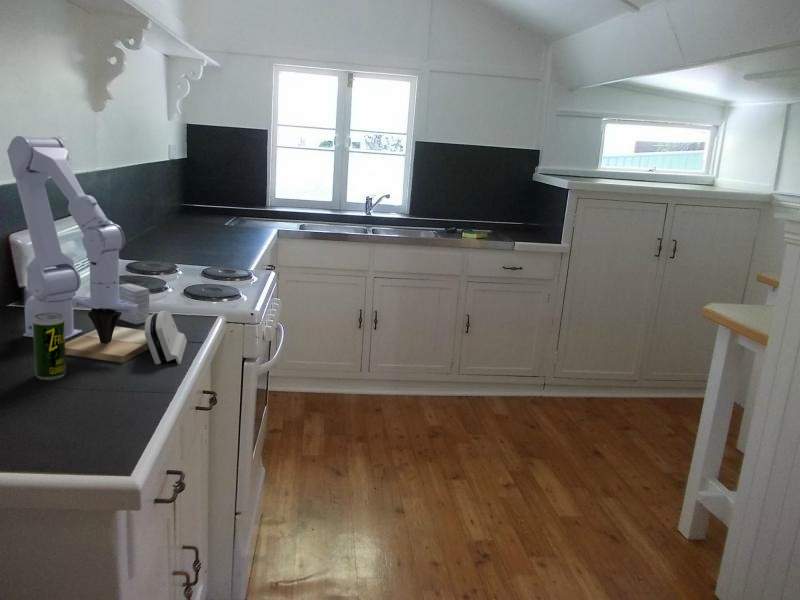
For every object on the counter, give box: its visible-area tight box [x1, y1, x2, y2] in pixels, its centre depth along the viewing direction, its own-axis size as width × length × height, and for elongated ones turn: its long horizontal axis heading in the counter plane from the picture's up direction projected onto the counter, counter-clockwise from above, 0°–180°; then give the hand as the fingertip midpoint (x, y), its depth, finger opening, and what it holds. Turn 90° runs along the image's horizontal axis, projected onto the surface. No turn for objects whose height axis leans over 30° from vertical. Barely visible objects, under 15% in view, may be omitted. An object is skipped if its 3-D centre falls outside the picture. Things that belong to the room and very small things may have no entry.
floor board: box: [82, 325, 150, 352], centre depth 154 cm, size 15×9×2 cm, turn 80°
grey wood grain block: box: [118, 283, 151, 325], centre depth 170 cm, size 8×4×9 cm, turn 58°
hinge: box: [144, 309, 188, 365], centre depth 149 cm, size 17×5×10 cm, turn 12°
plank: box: [65, 335, 145, 364], centre depth 146 cm, size 15×8×2 cm, turn 80°
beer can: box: [32, 313, 67, 381], centre depth 130 cm, size 5×5×12 cm
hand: (105, 341), depth 148 cm, fingers closed
